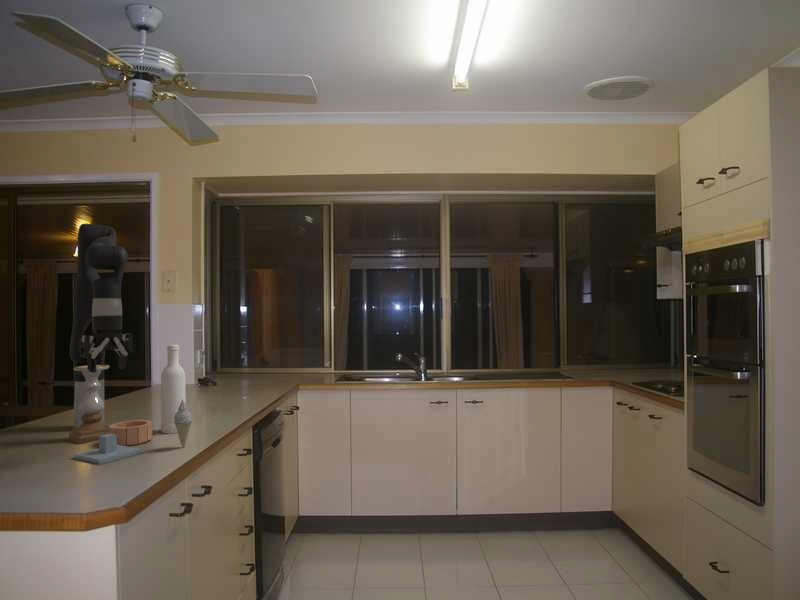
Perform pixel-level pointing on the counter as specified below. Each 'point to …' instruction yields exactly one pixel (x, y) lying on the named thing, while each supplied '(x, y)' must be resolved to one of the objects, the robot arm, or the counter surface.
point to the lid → (107, 451)
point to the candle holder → (90, 409)
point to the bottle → (171, 390)
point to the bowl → (132, 432)
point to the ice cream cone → (182, 423)
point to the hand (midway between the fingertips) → (107, 370)
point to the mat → (106, 462)
